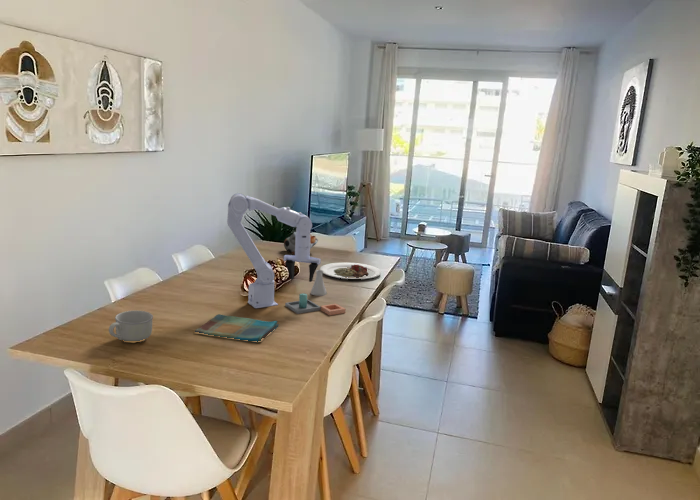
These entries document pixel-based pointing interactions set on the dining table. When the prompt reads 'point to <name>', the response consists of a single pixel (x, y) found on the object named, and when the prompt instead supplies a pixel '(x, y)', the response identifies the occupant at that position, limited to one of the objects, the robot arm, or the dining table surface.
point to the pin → (302, 300)
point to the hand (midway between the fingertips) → (301, 280)
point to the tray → (295, 307)
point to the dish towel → (237, 328)
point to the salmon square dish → (332, 309)
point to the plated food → (349, 270)
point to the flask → (319, 285)
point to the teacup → (132, 325)
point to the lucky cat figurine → (290, 242)
